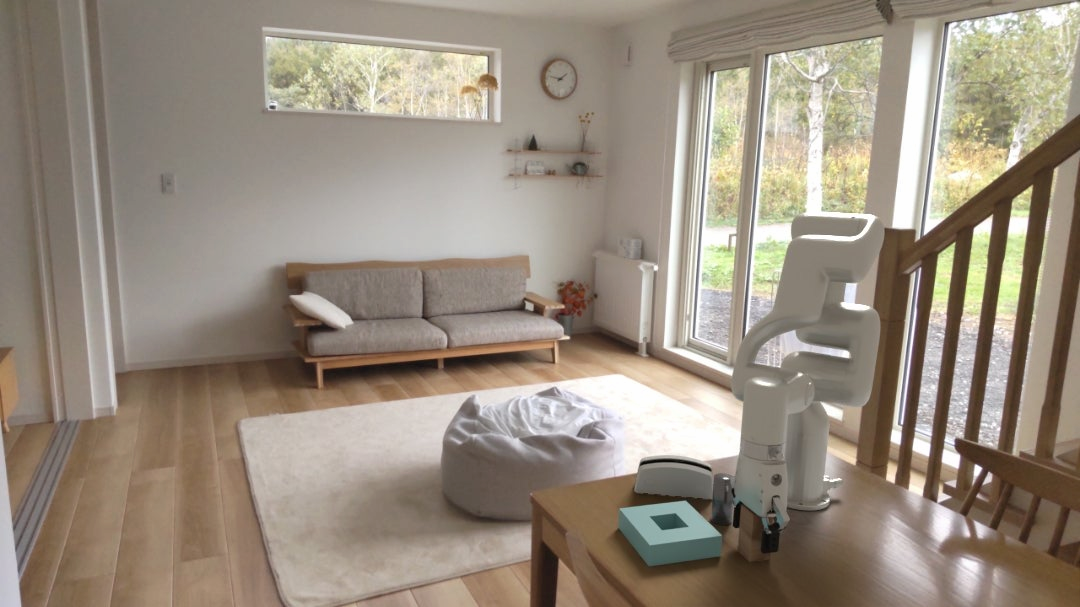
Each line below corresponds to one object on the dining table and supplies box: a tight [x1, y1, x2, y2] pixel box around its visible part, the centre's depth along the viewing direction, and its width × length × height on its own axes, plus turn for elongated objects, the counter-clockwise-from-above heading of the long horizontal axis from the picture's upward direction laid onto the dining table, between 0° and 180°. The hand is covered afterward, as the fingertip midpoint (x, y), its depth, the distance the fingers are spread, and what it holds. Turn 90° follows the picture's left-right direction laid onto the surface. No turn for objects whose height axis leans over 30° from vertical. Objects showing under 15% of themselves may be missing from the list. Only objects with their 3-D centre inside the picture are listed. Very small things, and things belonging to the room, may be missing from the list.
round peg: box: [710, 472, 734, 526], centre depth 142 cm, size 4×4×9 cm
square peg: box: [737, 504, 774, 563], centre depth 129 cm, size 4×4×9 cm
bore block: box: [617, 500, 723, 567], centre depth 133 cm, size 14×14×4 cm
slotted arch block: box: [633, 454, 714, 501], centre depth 153 cm, size 17×5×10 cm, turn 80°
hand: (754, 538), depth 129 cm, fingers open, 8 cm apart
